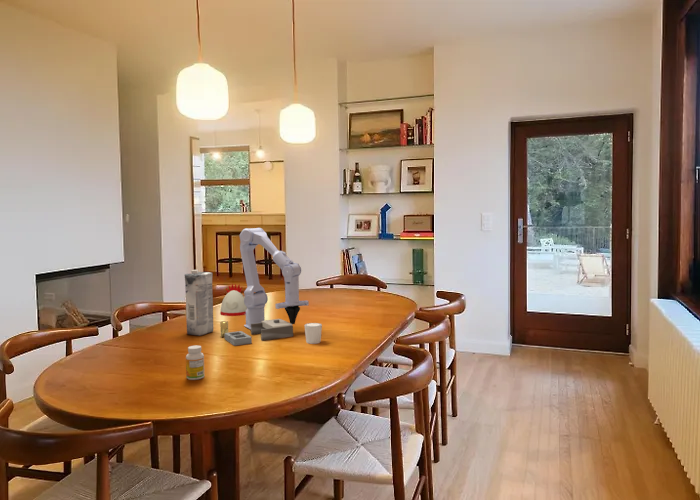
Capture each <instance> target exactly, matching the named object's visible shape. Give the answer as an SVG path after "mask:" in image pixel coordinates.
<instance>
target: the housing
mask: <svg viewBox="0 0 700 500" xmlns="http://www.w3.org/2000/svg"><path fill="white" fill-rule="evenodd" d="M258 334H260V337H261V338H260V339H261V340H260V341H262V342H263V341H270V340H276V339H283V338H291V337H294V325H292V326H285V327H278V328H268V329H266V328H264V327H263V324H262V323H254V324H251V329H250V335H258Z"/></svg>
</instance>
